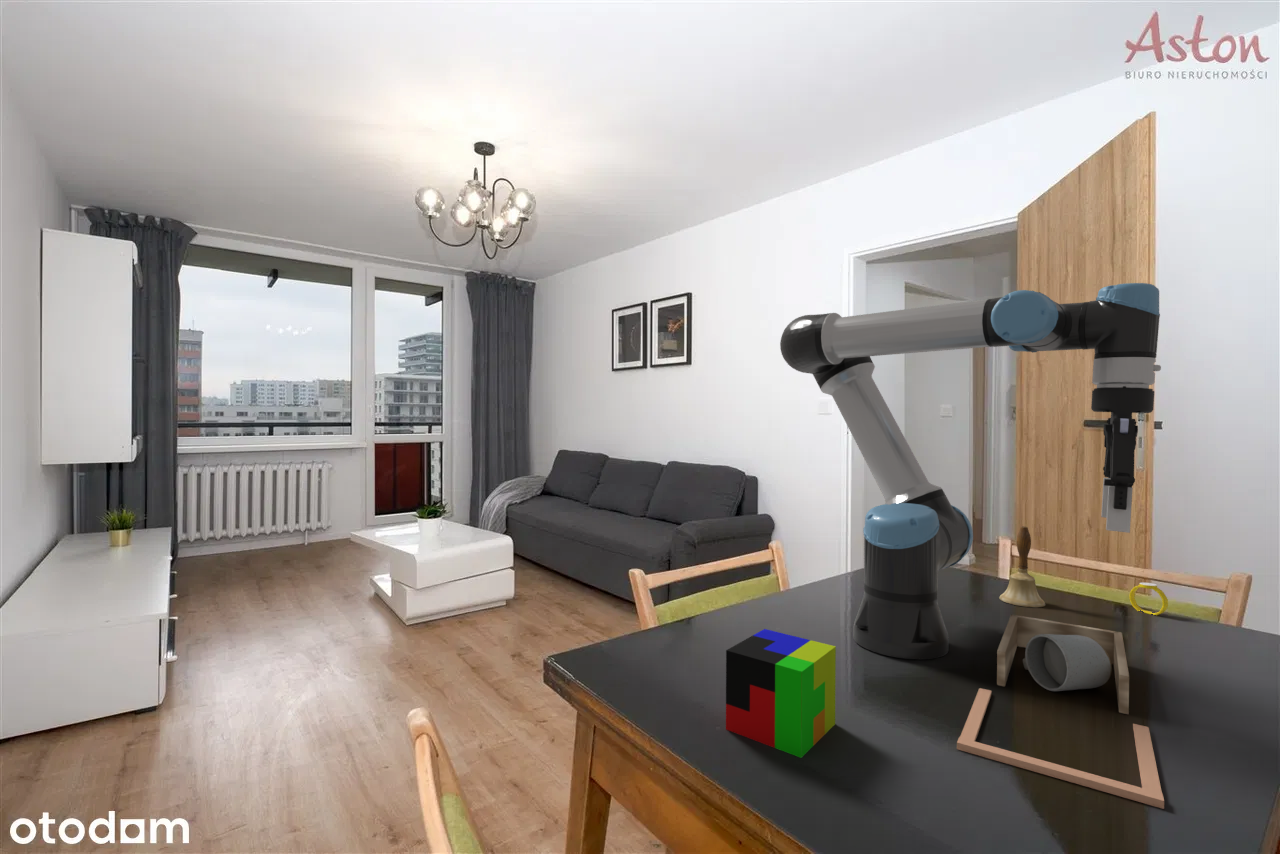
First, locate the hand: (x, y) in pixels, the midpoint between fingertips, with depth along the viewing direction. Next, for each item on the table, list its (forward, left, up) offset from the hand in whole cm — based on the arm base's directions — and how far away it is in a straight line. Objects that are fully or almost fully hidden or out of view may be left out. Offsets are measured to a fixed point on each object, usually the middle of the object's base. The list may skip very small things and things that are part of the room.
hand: (1114, 524), depth 95 cm
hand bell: (-14, +32, -23) cm, 42 cm away
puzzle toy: (-34, -48, -23) cm, 63 cm away
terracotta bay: (-6, -31, -22) cm, 38 cm away
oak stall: (-6, -7, -22) cm, 24 cm away
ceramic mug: (-7, -11, -23) cm, 26 cm away
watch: (+7, +38, -23) cm, 45 cm away
